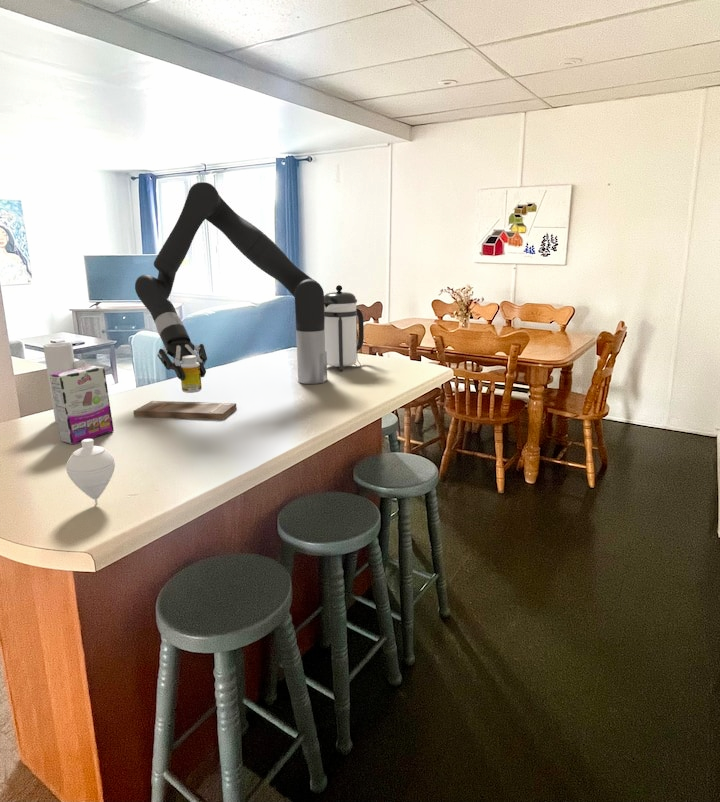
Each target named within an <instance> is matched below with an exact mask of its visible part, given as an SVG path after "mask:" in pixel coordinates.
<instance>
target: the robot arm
mask: <svg viewBox="0 0 720 802" xmlns="http://www.w3.org/2000/svg"><path fill="white" fill-rule="evenodd" d="M205 220H207V221H208V222H209V223H210V224H211V225H213V226H214V227H215V228H216V229H218V230H219V231H220V232H221V233H222V234H223V235H225V237H226V238H227V239H228V240H229V241H230V242H231V244H232V245H234V247H235V248H236V249H237V250H238V251H239V252H240V253H241V254H242V255H244V257H245V258H246V259H248V260H249V261H250V262H251V263H252V264H253V265H255V266H256V267H257V268H258V269H259V270H261V271H263V272H264V273H265V274H267V275H269V276H270V277H271V278H273V279H274V280H276V281H277V282H279V283H280V284H281V285H282V286H283V287H284V288H286V290H287V291H288V292H289V293H290V294H291V295H292V296H293V297H294V306H295V307H294V310H295V311H294V313H295V314H294V315H295V329H296V330H295V331H296V335H295V336H296V361H297V380H298V382H299V383H300V384H306V385H313V384H314V385H315V384H317V385H318V384H325V382H326V381H327V380H328V365H327V352H326V351H325V333H324V322H325V316H324V296H325V294H324V293H325V292H324V288H323V287H322V286H321V284H320V283H319V282H318V281H316V280H315V279H313V278H312V277H310V276H309V275H308V274H306V273H305V272H304V271H302V270H301V269H299V268H298V267H297V266H296V265H295V264H294V263H293V262H292V261H291V260H290V258H289V257H288V256H287V255H286V253H284V252H283V251H282V249H281V248H280V247H279V246H278V245H277V244H276V243H275V242H274V241H273V240H272V239H271V238H269V237H268V236H267V235H266V234H265V233H264V232H263V231H262V230H261V229H259V228H258V227H256V226H255V225H254V224H253V223H251V222H249V221H248V220H247V219H245V218H243V217H242V216H240V215H239V214H237V213H236V212H235V211H234V210H233V209H232V207H230V206H229V205H228V204H227V203H226V202H225V200H224V199H223V198H222V197H221V196H220V194H219V191H218V190H217V188H216V187H215V186H214V185H213V184H211V183H209V182H207V181H199V182H196V183H194V184H193V185H192V186H191V187H190V188H189V190H188V193H187V196H186V199H185V203H184V205H183V207H182V209H181V212H180V214H179V217H178V219H177V221H176V222H175V225H174V227H173V228H172V230H171V232H170V234H169V235H168V237H167V239H165V242H164V243H163V245H162V247H161V248H160V250H159V252H158V254H157V256H156V258H155V259H154V261H153V267H154V268H155V269H156V270H157V271H158V275H157V277H154V276H152V275H150V274H142V275H139V276H138V277H137V278H136V280H135V284H134V289H135V293H136V295H137V297H138V298H139V300H140V301H141V303H142V304H143V305H144V307H145V308H146V309H147V310H148V311H149V313H150V315H151V318H152V321H153V322H154V325H155V327H156V331H157V333H158V335H159V337H160V339H161V341H162V344H163V345H164V348H165V349H163V348H160V349H159V350H158V352H157V355H156V356H157V357H158V358H159V360H160V361H161V363H162V364H163V366H164V368H165V369H166V370H168V371H170V370H173V371H174V372H175V374H176V376H177V379H179V380H180V382H181V381H182V380H184V379H185V374H184V372H183V370H182V368H181V366H180V362H182V357H183V356H187V355H195V356H196V359H197V361H196V362H198V363H199V364H200V374H201V378H204V377H205V376H206V374H207V369H206V368H205V366H204V365H205V364H206V363H207V360H208V357H207V354H206V348H205V345H204V344H203V343H200V344H199V345H195V344H194V343H192V341H191V338H190V336H189V333H188V331H187V329H186V327H185V326H184V325H185V324H184V323H183V321H182V319H181V318H180V317H179V315H178V313H177V310H176V308H175V307H174V304H173V303H172V302H171V300H169V299H168V298H169V297H170V295H171V293H172V290H173V286H174V283H175V279H176V274H177V272H178V271H179V268H180V267H181V266H182V263H183V261H184V260H185V258H186V256H187V255H188V252H189V249H190V247H191V245H192V243H193V240H194V239H195V236H196V234H197V232H198V231H199V229H200V227H201V225H202V224H203V222H204V221H205ZM195 351H196V352H195ZM169 356H170V357H171V358H172V359H173V360H171V359H170V357H169Z"/></svg>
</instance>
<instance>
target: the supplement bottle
mask: <svg viewBox="0 0 720 802" xmlns="http://www.w3.org/2000/svg"><path fill="white" fill-rule="evenodd" d="M196 361H197V359H196V356H195V355H187V356H183V357H182V361H181V363H179V366H181V368H182V370H183V372H184V374H185V379H184V380H182V381H181V380H180V384H181V391H182V392H183V393H186V394H189V393H190V394H192V393H198V392H201V390H202V377H201V374H200V364H199V363H198V362H196Z"/></svg>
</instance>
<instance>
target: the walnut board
mask: <svg viewBox="0 0 720 802" xmlns="http://www.w3.org/2000/svg"><path fill="white" fill-rule="evenodd" d="M237 408H238V407H237V403H235V402H234V403H233V402H230V403H229V402H201V401H200V402H199V401H197V402H196V401H173V400H172V401H170V400H169V401H168V400H166V401H165V400H150V401H149V402H148V403H145V404H143V405H141V406H140V407H138V408H136V409H134V410H133V417H136V418H139V417H140V418H141V417H142V418H143V417H144V418H171V419H193V420H194V419H195V420H196V419H198V420H224V419H226V418H227V417H229V416H230V415H231V414H232V413H234V412H235V411H236V410H237Z"/></svg>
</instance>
